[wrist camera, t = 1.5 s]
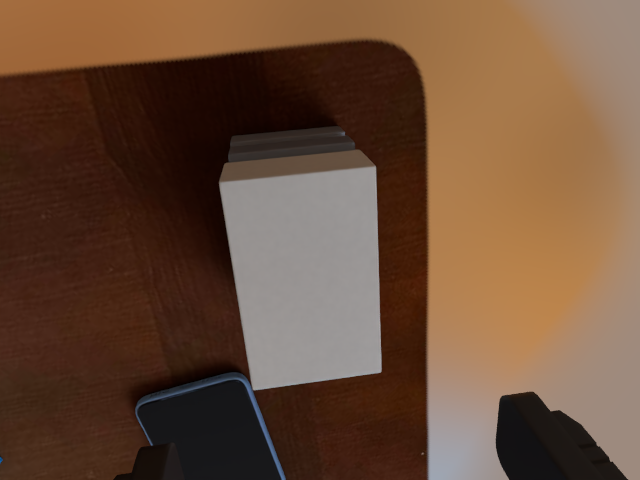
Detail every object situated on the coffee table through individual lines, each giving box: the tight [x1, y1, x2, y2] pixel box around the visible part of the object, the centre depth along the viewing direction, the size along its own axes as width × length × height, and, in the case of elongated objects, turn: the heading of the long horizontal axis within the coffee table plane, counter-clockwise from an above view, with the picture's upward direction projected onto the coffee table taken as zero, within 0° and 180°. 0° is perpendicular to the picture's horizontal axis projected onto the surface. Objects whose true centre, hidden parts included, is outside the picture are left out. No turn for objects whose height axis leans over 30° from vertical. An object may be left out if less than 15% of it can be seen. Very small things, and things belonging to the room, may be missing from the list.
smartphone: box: [135, 372, 286, 480], centre depth 32 cm, size 7×1×15 cm
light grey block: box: [219, 150, 382, 390], centre depth 20 cm, size 10×6×3 cm, turn 4°
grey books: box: [228, 126, 355, 163], centre depth 24 cm, size 10×6×5 cm, turn 4°
